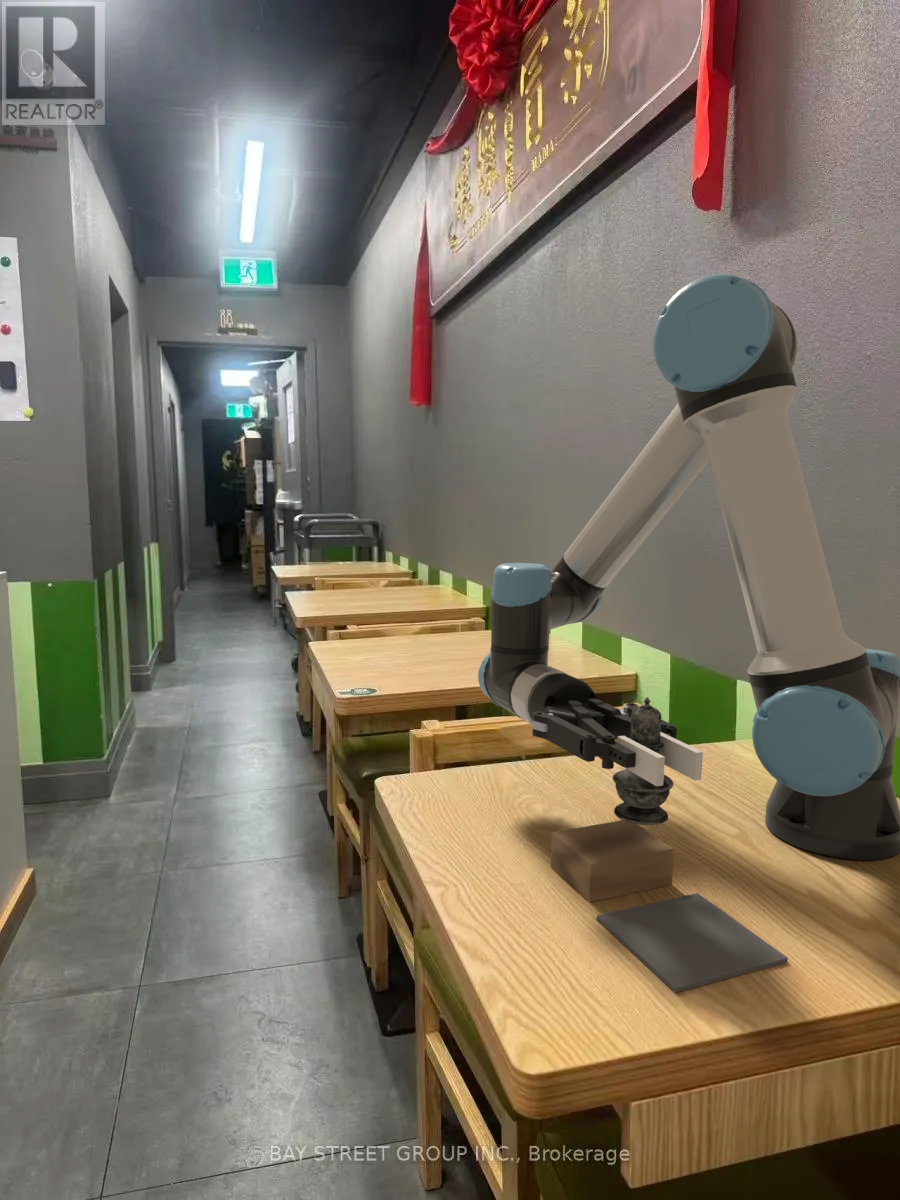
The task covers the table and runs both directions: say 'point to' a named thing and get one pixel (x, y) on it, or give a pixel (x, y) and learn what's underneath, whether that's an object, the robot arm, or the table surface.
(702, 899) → the mat
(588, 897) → the ledge block
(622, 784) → the salt shaker
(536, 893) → the table surface
